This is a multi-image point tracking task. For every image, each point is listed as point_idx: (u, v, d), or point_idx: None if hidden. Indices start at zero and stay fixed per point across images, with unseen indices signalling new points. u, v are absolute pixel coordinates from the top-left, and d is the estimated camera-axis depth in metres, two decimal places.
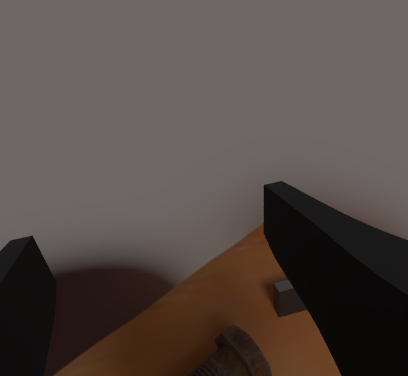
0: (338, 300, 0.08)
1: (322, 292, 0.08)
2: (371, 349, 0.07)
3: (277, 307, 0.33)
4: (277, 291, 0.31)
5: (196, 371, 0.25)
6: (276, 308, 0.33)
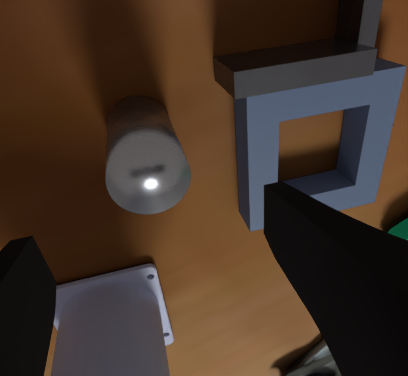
0: (338, 300, 0.08)
1: (322, 292, 0.08)
2: (371, 349, 0.07)
3: None
4: None
5: None
6: None
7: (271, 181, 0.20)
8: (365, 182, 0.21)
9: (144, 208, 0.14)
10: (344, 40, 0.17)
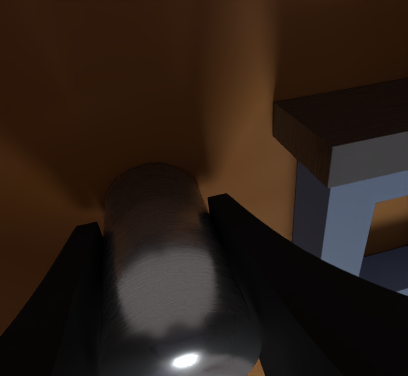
0: (263, 321, 0.07)
1: (253, 311, 0.08)
2: (286, 375, 0.06)
3: None
4: None
5: None
6: None
7: None
8: None
9: None
10: None
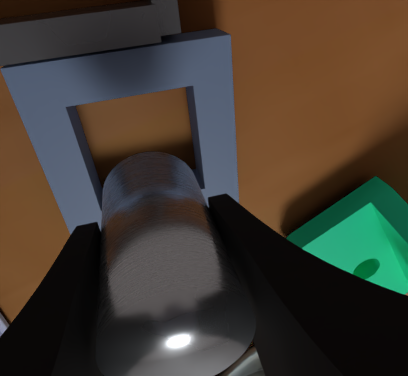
0: (263, 321, 0.07)
1: (253, 311, 0.08)
2: (286, 375, 0.06)
3: None
4: None
5: None
6: None
7: (82, 184, 0.16)
8: (218, 184, 0.17)
9: None
10: (146, 0, 0.13)
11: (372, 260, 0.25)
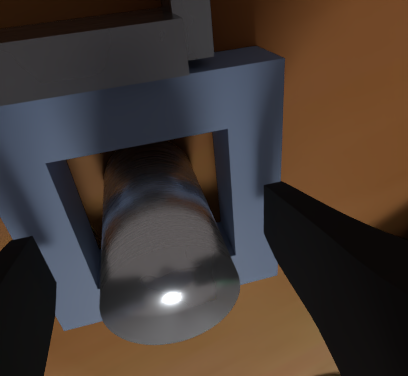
0: (338, 300, 0.08)
1: (321, 292, 0.08)
2: (371, 349, 0.07)
3: None
4: None
5: None
6: None
7: (72, 259, 0.11)
8: (253, 250, 0.13)
9: (166, 337, 0.09)
10: (163, 9, 0.09)
11: None
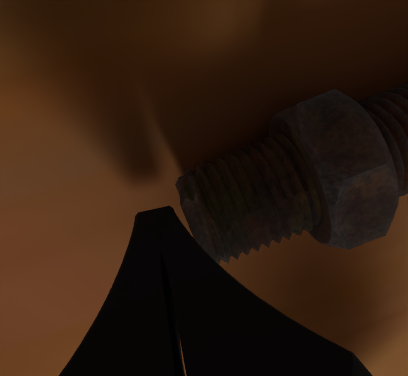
0: None
1: None
2: None
3: None
4: None
5: None
6: None
7: None
8: None
9: None
10: None
11: None
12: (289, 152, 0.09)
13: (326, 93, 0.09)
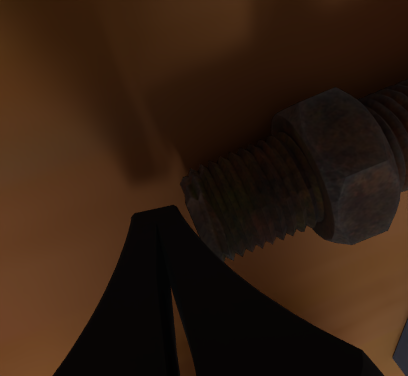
0: None
1: (186, 330, 0.08)
2: None
3: None
4: None
5: None
6: None
7: None
8: None
9: None
10: None
11: None
12: (291, 150, 0.09)
13: (327, 91, 0.09)
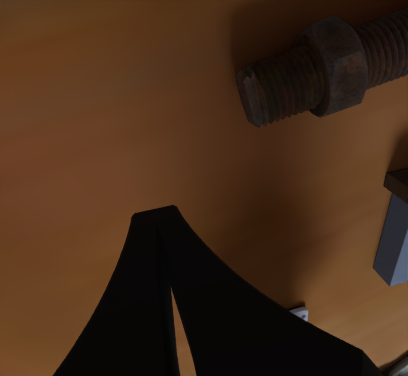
0: None
1: (186, 330, 0.08)
2: None
3: None
4: None
5: None
6: None
7: None
8: None
9: None
10: None
11: None
12: (306, 53, 0.16)
13: (329, 18, 0.16)
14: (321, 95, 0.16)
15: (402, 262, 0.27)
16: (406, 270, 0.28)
